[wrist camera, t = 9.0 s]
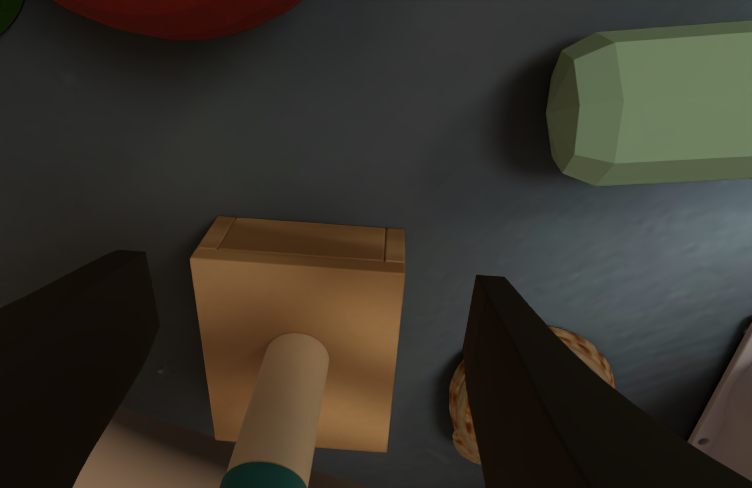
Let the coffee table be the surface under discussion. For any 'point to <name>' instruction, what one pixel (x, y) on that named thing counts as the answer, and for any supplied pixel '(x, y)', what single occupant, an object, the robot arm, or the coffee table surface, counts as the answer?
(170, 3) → the apple
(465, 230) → the coffee table surface
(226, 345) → the wooden box
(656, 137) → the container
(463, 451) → the seashell
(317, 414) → the marker
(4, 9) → the candle
